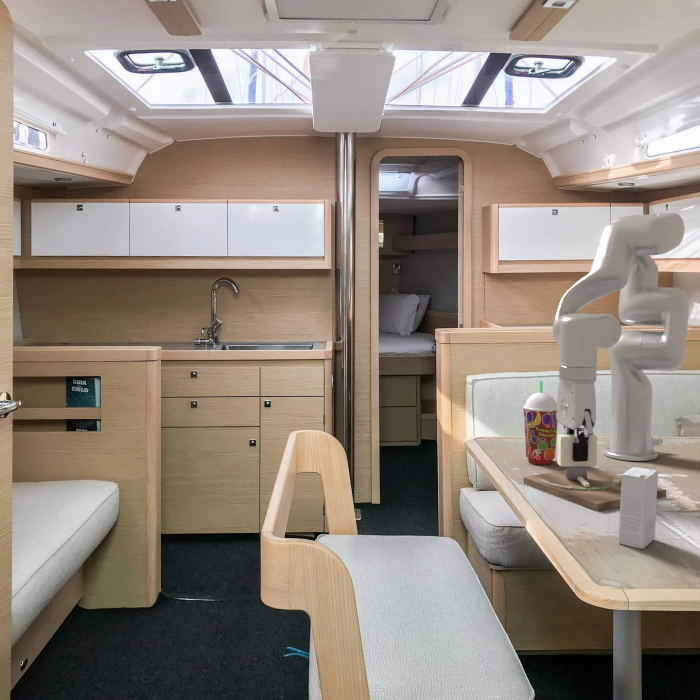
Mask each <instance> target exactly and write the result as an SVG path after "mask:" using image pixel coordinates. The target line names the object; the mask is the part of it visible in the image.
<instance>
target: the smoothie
mask: <svg viewBox="0 0 700 700" xmlns="http://www.w3.org/2000/svg"><path fill="white" fill-rule="evenodd" d="M543 387H544V386H543V380H540V381H539V392H535V393H533V394H531V395H530V396H528V398H527V399H526V401H525V403H524V405H523V424H524V425H523V426H524V443H525V456H526V458H527V460H528V462H529V463H531V464H533V465H538V466H539V465H540V466H544V465H545V466H546V465H551V464H552V463H553V461H554V459H555V458H556V449H557V448H556V447H557V446H556V445H557V438H558V433H557V432H558V425H559V422H558V421H557V419H556V412H557V400H555V398H553V396H552V395H551V394H548V393H546V392H544V391H543V389H544V388H543Z"/></svg>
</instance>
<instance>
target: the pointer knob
mask: <svg viewBox="0 0 700 700" xmlns="http://www.w3.org/2000/svg"><path fill="white" fill-rule="evenodd" d="M579 435H580V433H579ZM573 443H575V440H574V434H564V433H561V434H559V433H557V444H556V445H557V446H556V447H557V448H556V449H557V451H556V453H557V454H556V458H557V459H556V462H557V463H556V464H557V465H559V467H565V470H566V478H568V479H571V480H578V481H580V482H581V483H582V484H583V485H584V486H585V487H589V483H588V482H587V481H586V479H587V466H589V467H597V461H598V459H597V457H598V436H597V435H595V434H594V433H593V435H592V436H590V438H589V443H588V461H580V462H574V461H573V460H572V456H573Z"/></svg>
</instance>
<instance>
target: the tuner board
mask: <svg viewBox="0 0 700 700" xmlns="http://www.w3.org/2000/svg"><path fill="white" fill-rule="evenodd" d="M522 481H523V482H522V483H524V484H523V485H525V484H526V485H525V486H528V485H529V487H530V486H531V488H533V487H534V488H533V489H536V490H538V489H539V491H541V490H542V492H543V493H546V492H547V494H549V495H553V496H555V497H558V498H560V499H562V500H565V501H568V502H570V503H573V504H575V505H578V506H582V507H584V508H586V507H587V508H586V509H589V510H592V511H594V510H595V512H597V511H598V512H602V511H606V510H611V509H616V508H620V501H621V485H622V475H618V474H616V473H612V472H608V471H605V470H604V469H603V470H602V469H598V468H595V467H594V466H587V479H586V481H587V482H588V483H589V487H585V486H584V485H583V484H582V483H581V482H580V481H578V480H571V479H568V478H566V469H564V470H559V471H558V470H557V471H552V472H546V473H540V474H534V475H528V476H523V480H522ZM662 498H667V489H665V488H661V487H658V486H657V499H662Z"/></svg>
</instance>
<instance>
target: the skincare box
mask: <svg viewBox="0 0 700 700" xmlns="http://www.w3.org/2000/svg"><path fill="white" fill-rule="evenodd" d="M658 475H659V471H658V470H656V469H651V468H643V467H636V466H633V467H631V468H630V469H628V470H627V471H625V472H624V473H622V474H621V476H622V485H621V501H620V507H619V523H618V524H619V526H618V527H619V528H618V544H620V545H623V546H625V547H626V546H627V547H632V548H635V549H640V550H642V549H644V550H645V548H646V547H648V545H649V544H650V543H652V541H654V540H655V538H656V525H657V524H656V522H657V519H656V518H657V502H658V501H657V487H658V480H659V479H658V478H659V477H658Z"/></svg>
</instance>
